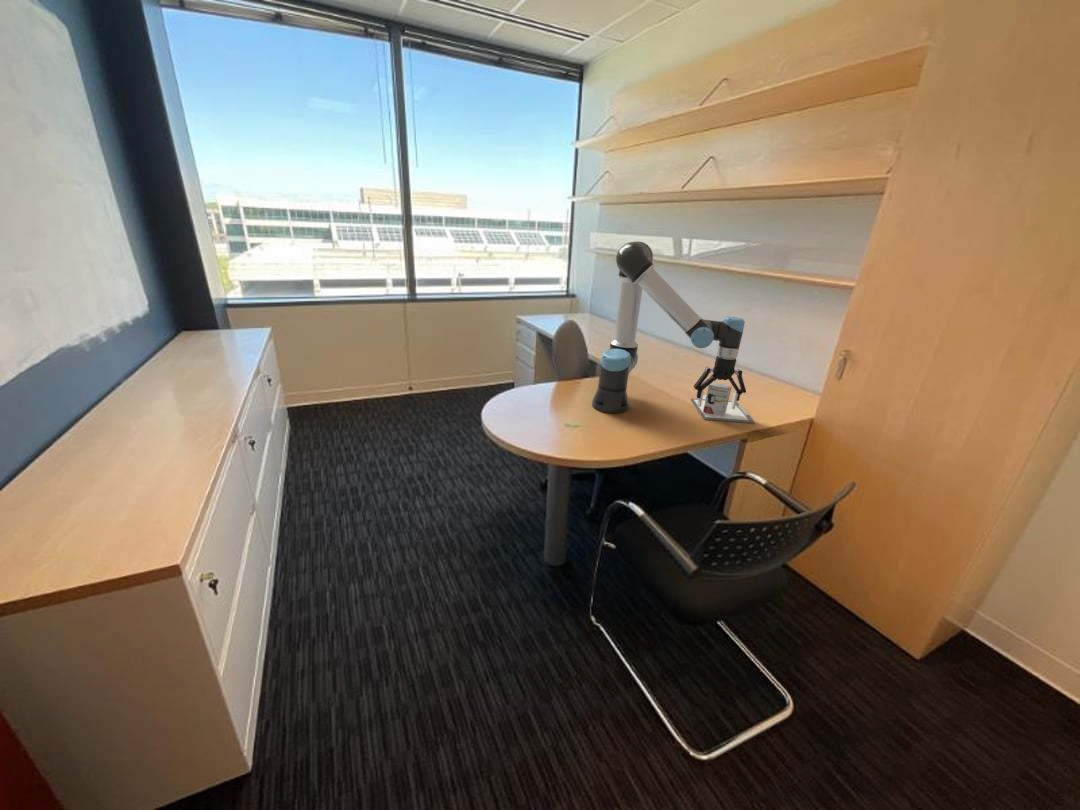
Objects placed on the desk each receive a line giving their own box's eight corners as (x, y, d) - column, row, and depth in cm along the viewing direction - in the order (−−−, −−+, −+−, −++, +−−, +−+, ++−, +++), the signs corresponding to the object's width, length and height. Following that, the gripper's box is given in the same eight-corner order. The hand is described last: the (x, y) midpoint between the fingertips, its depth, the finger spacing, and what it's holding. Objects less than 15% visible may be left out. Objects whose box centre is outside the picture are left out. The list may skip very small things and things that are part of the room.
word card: (703, 399, 198) (703, 398, 198) (700, 395, 203) (700, 394, 203) (721, 400, 198) (721, 399, 198) (718, 396, 202) (718, 395, 202)
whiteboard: (703, 419, 177) (704, 417, 176) (690, 399, 197) (691, 397, 196) (754, 423, 176) (755, 420, 175) (736, 403, 196) (736, 400, 196)
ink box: (702, 412, 182) (708, 385, 178) (704, 408, 186) (709, 382, 182) (724, 416, 179) (730, 389, 174) (725, 412, 183) (731, 386, 178)
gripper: (696, 357, 171) (687, 407, 179) (762, 361, 169) (749, 412, 177) (692, 352, 177) (683, 401, 186) (755, 356, 176) (743, 405, 184)
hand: (715, 406), depth 182 cm, fingers open, 13 cm apart
